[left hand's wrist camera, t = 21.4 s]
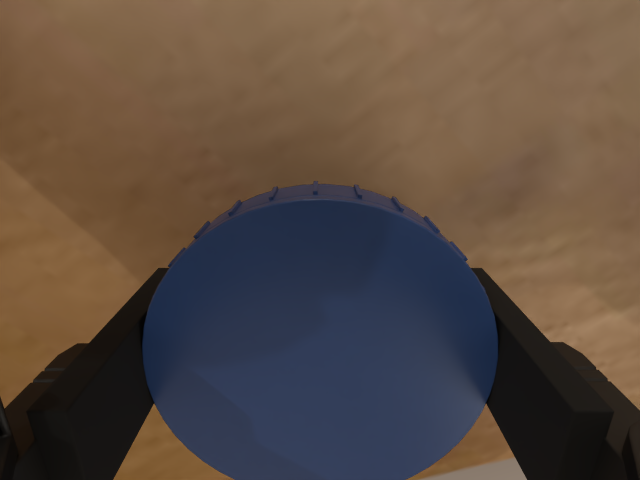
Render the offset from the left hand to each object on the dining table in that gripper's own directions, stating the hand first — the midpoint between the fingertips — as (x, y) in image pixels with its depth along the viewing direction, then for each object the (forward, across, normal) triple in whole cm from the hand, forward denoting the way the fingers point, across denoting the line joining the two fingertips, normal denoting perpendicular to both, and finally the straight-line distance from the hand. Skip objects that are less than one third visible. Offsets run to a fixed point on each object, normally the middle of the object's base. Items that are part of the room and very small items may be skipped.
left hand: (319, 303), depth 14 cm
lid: (-3, 0, 0) cm, 3 cm away
